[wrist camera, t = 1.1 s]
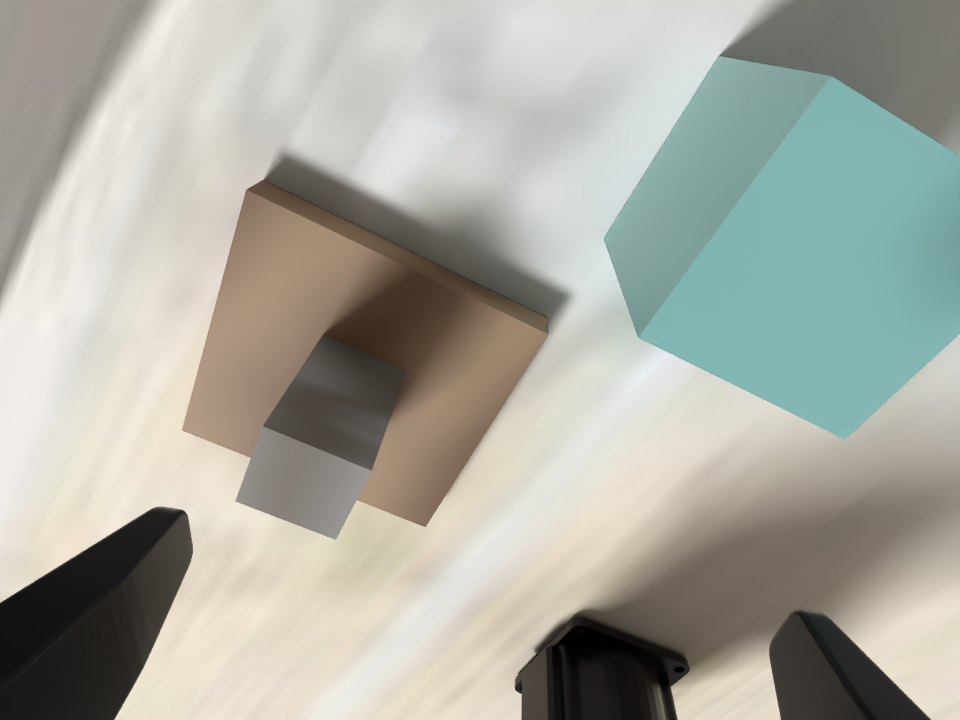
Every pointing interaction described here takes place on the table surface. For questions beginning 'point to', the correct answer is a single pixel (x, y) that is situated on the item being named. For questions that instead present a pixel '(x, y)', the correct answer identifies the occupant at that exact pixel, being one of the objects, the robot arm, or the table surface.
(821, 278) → the teal block
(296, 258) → the post board
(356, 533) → the table surface
